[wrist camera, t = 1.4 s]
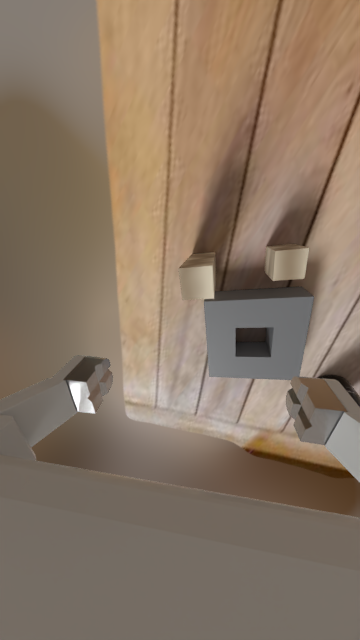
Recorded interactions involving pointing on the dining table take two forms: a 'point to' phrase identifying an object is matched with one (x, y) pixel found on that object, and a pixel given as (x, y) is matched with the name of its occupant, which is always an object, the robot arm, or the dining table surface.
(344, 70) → the dining table surface
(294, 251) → the short pin
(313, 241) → the dining table surface
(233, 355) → the socket block
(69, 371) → the robot arm
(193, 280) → the tall pin
